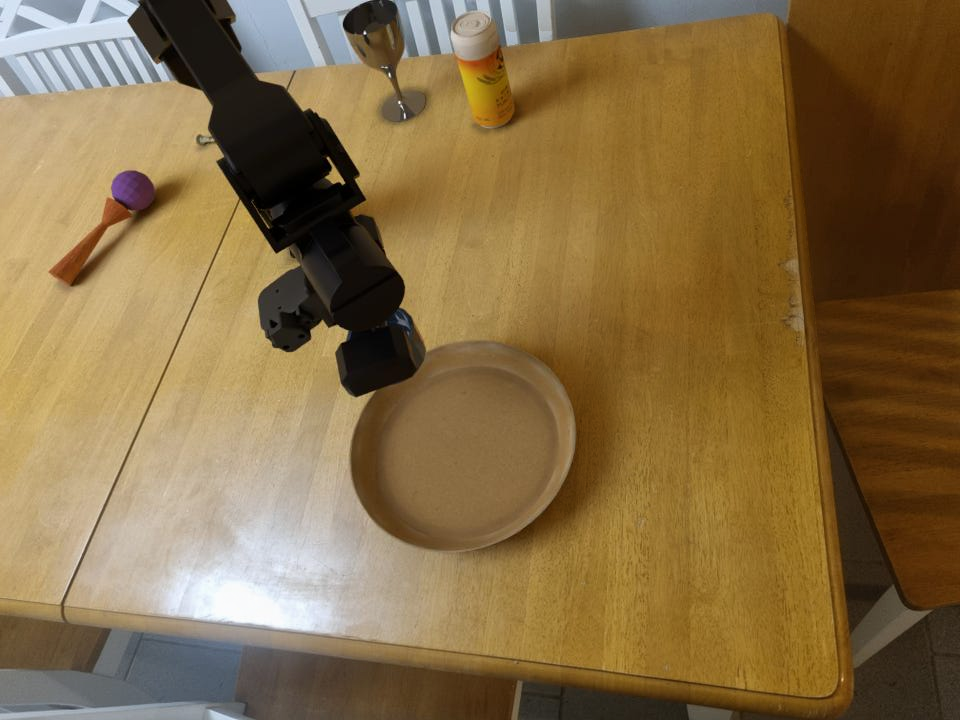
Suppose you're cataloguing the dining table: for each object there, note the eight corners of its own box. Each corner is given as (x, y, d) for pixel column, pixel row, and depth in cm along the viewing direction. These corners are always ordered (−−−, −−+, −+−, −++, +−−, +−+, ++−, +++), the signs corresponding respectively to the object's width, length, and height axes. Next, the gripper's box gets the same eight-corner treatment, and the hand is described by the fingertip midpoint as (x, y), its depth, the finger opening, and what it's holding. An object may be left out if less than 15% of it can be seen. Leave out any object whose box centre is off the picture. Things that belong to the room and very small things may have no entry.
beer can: (511, 130, 104) (489, 35, 92) (470, 131, 106) (443, 39, 93) (518, 101, 107) (498, 6, 95) (479, 103, 109) (453, 10, 96)
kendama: (32, 262, 105) (120, 160, 112) (67, 287, 110) (150, 187, 116) (50, 269, 102) (140, 163, 108) (85, 294, 106) (169, 191, 112)
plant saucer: (333, 550, 75) (320, 539, 73) (387, 352, 88) (377, 337, 85) (566, 575, 69) (562, 564, 66) (589, 358, 81) (586, 341, 78)
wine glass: (378, 95, 115) (342, 7, 103) (427, 83, 114) (397, -7, 102) (378, 128, 111) (341, 40, 98) (429, 116, 110) (398, 25, 97)
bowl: (357, 344, 76) (341, 319, 72) (419, 322, 76) (405, 296, 72) (368, 397, 72) (352, 373, 69) (433, 373, 72) (420, 348, 68)
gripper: (231, 206, 66) (304, 309, 79) (247, 368, 55) (329, 457, 68) (347, 163, 65) (401, 273, 78) (386, 317, 55) (442, 416, 67)
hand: (391, 350), depth 73 cm, fingers closed on bowl, 7 cm apart
